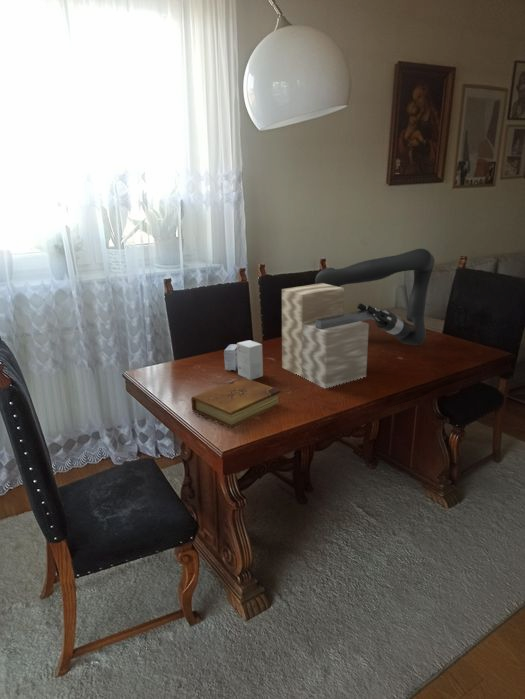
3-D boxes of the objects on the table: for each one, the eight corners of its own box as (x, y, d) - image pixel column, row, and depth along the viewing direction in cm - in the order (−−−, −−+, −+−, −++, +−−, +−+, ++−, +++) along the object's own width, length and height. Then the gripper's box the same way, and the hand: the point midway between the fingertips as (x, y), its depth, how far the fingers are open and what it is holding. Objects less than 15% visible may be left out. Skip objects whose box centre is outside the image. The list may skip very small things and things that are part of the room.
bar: (315, 327, 181) (315, 319, 180) (375, 315, 197) (376, 307, 196) (320, 329, 179) (321, 321, 178) (381, 316, 194) (381, 309, 193)
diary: (241, 391, 182) (241, 376, 180) (280, 405, 170) (280, 390, 168) (192, 411, 166) (191, 395, 164) (231, 429, 154) (230, 411, 152)
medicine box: (235, 371, 200) (234, 350, 197) (224, 370, 201) (223, 349, 198) (240, 364, 207) (239, 344, 205) (229, 363, 208) (229, 343, 206)
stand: (282, 367, 203) (281, 289, 193) (320, 358, 213) (322, 283, 203) (325, 388, 181) (327, 301, 171) (366, 377, 192) (370, 294, 182)
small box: (263, 376, 194) (262, 344, 190) (250, 380, 190) (249, 347, 186) (250, 370, 200) (249, 339, 196) (237, 374, 196) (236, 342, 192)
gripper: (380, 310, 205) (353, 294, 195) (407, 317, 194) (380, 300, 184) (372, 327, 206) (346, 312, 195) (399, 335, 194) (372, 319, 184)
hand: (363, 306), depth 190 cm, fingers open, 4 cm apart
